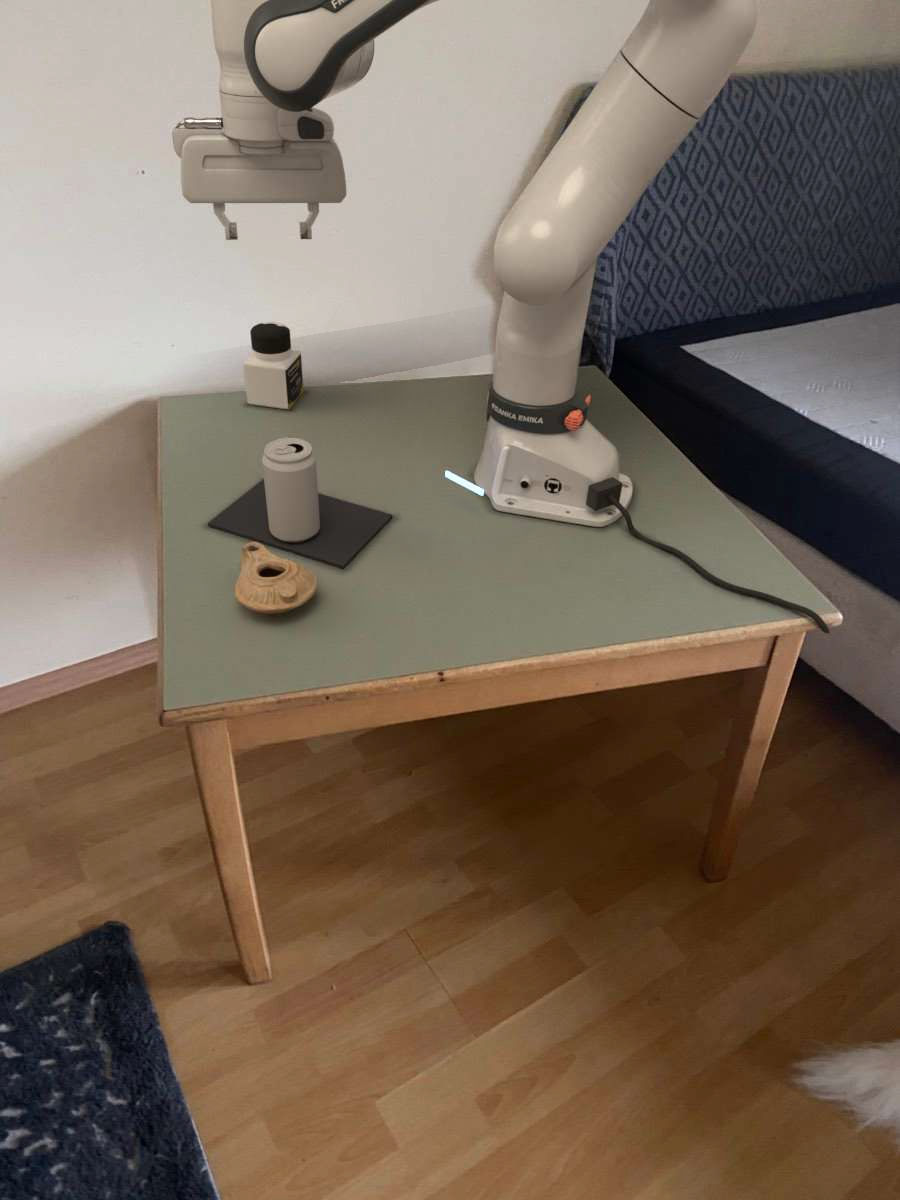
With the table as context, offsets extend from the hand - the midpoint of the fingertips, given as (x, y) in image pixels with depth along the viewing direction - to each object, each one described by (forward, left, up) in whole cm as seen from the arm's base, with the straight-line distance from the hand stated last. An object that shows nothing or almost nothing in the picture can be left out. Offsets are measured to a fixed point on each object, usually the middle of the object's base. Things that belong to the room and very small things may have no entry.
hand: (269, 238), depth 113 cm
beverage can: (-15, +21, -29) cm, 39 cm away
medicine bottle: (+9, -11, -29) cm, 33 cm away
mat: (-14, +18, -29) cm, 37 cm away
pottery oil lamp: (-19, +33, -29) cm, 48 cm away
